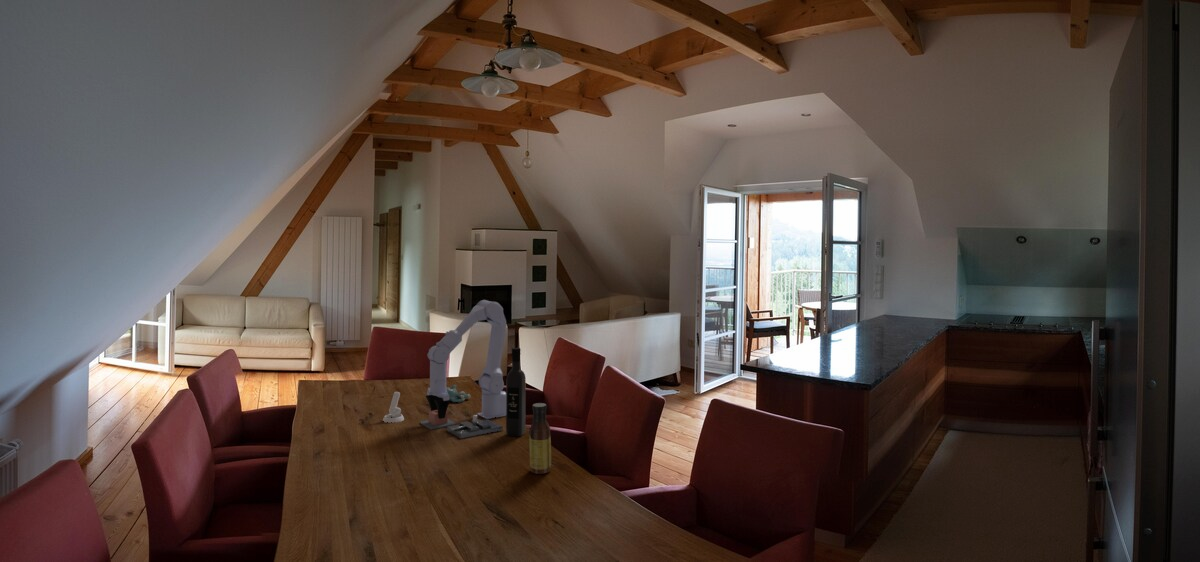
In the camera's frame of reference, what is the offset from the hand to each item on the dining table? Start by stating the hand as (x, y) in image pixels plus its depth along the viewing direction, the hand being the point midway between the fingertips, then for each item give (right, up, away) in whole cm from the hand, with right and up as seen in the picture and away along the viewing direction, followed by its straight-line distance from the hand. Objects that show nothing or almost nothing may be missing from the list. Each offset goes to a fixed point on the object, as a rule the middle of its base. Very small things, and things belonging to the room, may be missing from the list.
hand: (438, 416), depth 234 cm
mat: (0, -3, 0) cm, 3 cm away
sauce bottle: (+41, -7, -46) cm, 62 cm away
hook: (-18, -3, +5) cm, 19 cm away
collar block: (0, -2, 0) cm, 2 cm away
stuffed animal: (-1, -1, +35) cm, 35 cm away
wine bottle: (+30, -4, -11) cm, 32 cm away
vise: (+15, -4, -7) cm, 17 cm away
